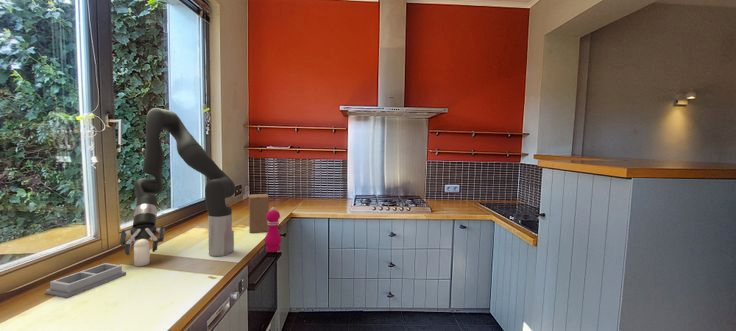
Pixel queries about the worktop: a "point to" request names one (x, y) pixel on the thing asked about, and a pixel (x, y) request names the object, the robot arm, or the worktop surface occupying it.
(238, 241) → the worktop surface
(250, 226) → the wooden block
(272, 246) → the pepper mill
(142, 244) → the cream capsule shape
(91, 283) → the grey divided tray
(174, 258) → the worktop surface
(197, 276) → the worktop surface
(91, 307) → the worktop surface
